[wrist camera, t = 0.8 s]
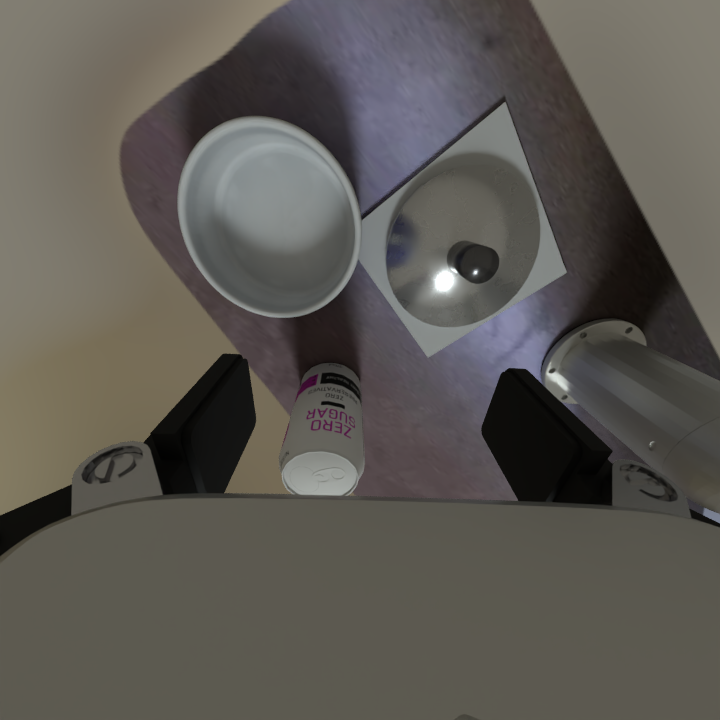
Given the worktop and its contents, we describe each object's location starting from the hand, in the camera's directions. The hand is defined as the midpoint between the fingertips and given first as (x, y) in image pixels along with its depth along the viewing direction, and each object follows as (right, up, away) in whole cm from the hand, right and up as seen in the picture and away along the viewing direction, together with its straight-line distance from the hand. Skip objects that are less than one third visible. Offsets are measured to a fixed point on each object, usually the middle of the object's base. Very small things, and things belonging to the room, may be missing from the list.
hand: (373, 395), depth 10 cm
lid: (+10, +13, +20) cm, 26 cm away
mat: (+10, +13, +20) cm, 26 cm away
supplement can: (-4, -2, +28) cm, 29 cm away
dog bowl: (-8, +15, +18) cm, 25 cm away
